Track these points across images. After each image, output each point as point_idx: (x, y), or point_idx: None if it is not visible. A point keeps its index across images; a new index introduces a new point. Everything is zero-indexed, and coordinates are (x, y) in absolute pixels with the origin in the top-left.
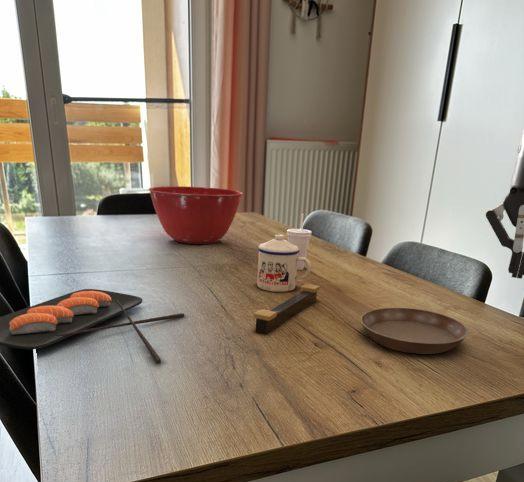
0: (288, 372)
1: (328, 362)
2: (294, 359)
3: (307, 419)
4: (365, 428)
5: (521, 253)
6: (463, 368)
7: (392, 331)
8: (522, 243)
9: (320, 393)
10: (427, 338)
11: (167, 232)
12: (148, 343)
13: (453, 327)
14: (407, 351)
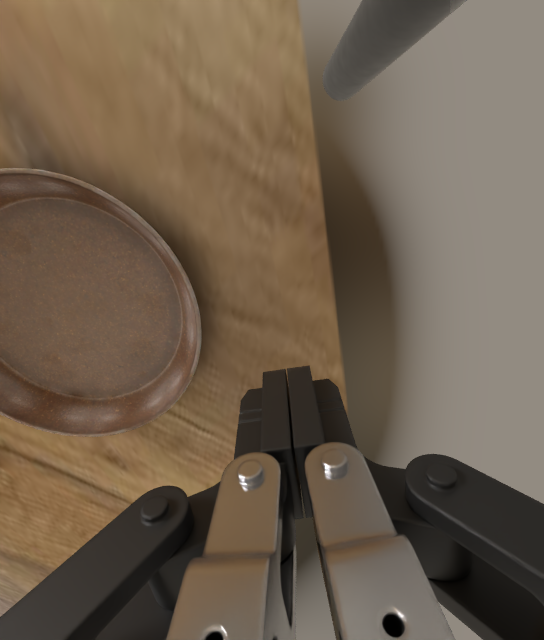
0: (46, 554)
1: (56, 501)
2: (13, 521)
3: None
4: None
5: (295, 507)
6: (240, 386)
7: (23, 308)
8: (294, 590)
9: None
10: (111, 300)
11: None
12: None
13: (132, 218)
14: (122, 396)
